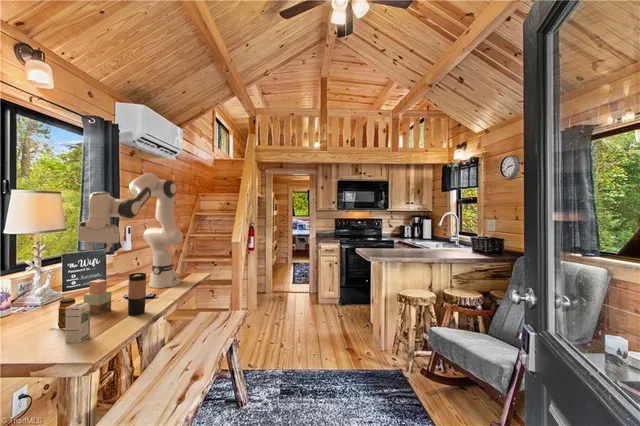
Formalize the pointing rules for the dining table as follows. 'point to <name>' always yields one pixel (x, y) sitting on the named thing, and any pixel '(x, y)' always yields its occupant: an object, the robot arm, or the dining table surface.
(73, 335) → the syrup box
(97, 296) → the block top
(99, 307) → the block low
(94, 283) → the block small
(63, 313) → the condiment
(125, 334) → the dining table surface
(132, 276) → the travel mug
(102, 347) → the dining table surface
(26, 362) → the dining table surface
